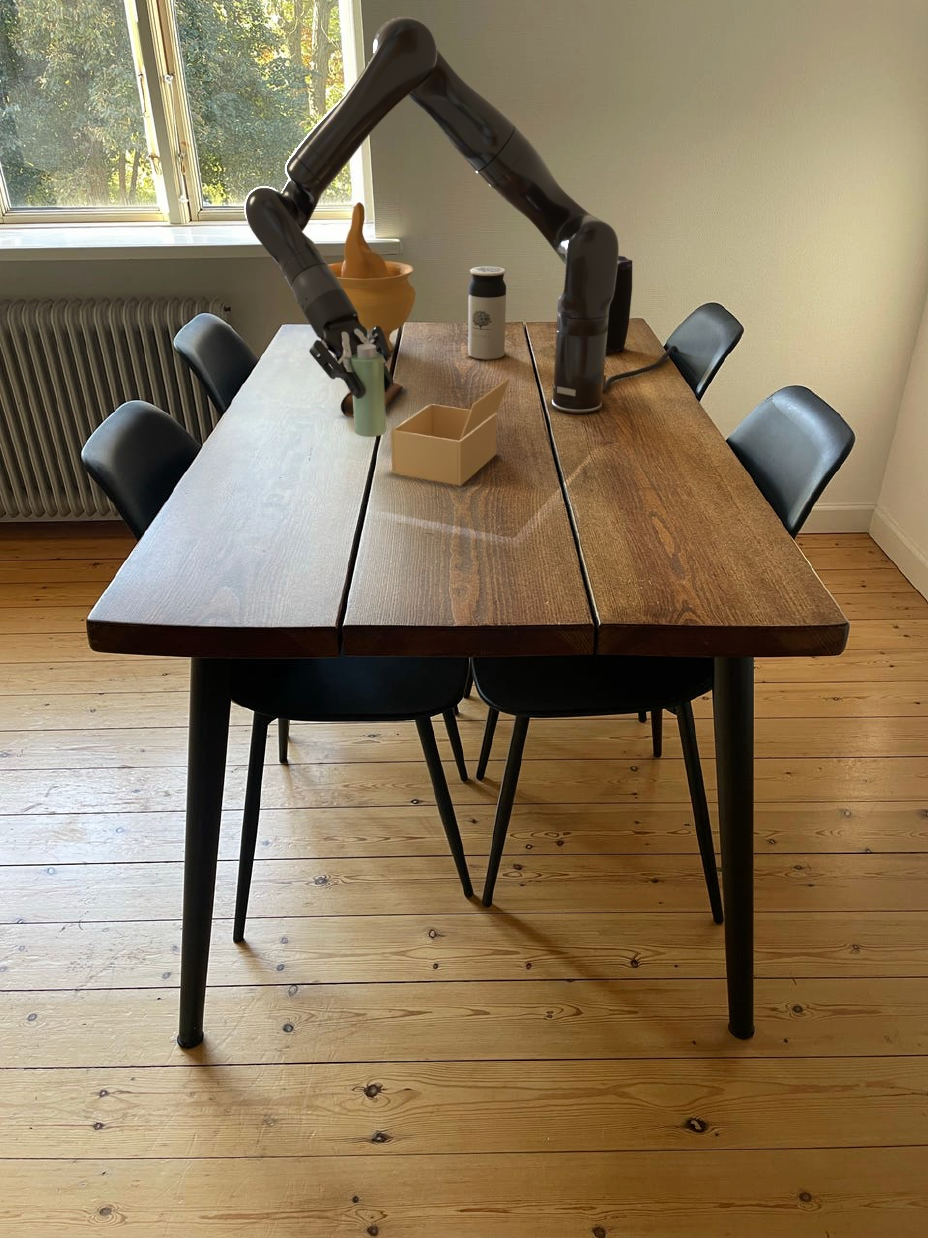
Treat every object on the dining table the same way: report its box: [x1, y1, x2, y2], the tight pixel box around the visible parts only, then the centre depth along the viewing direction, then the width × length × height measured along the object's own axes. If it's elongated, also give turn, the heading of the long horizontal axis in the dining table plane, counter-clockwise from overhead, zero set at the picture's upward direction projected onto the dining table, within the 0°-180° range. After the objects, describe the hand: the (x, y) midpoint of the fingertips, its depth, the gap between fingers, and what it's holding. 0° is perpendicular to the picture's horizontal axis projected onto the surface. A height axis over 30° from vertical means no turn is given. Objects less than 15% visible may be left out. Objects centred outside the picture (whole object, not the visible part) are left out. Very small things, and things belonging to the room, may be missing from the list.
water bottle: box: [351, 344, 387, 438], centre depth 149 cm, size 5×5×14 cm
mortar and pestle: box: [328, 201, 417, 352], centre depth 200 cm, size 21×21×30 cm
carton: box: [390, 403, 498, 487], centre depth 148 cm, size 14×12×8 cm
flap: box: [460, 377, 511, 438], centre depth 142 cm, size 14×6×1 cm
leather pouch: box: [340, 381, 404, 418], centre depth 176 cm, size 18×7×7 cm, turn 172°
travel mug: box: [467, 266, 507, 361], centre depth 199 cm, size 8×8×18 cm
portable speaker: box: [605, 255, 634, 356], centre depth 202 cm, size 9×9×20 cm
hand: (376, 391), depth 148 cm, fingers closed on water bottle, 5 cm apart
